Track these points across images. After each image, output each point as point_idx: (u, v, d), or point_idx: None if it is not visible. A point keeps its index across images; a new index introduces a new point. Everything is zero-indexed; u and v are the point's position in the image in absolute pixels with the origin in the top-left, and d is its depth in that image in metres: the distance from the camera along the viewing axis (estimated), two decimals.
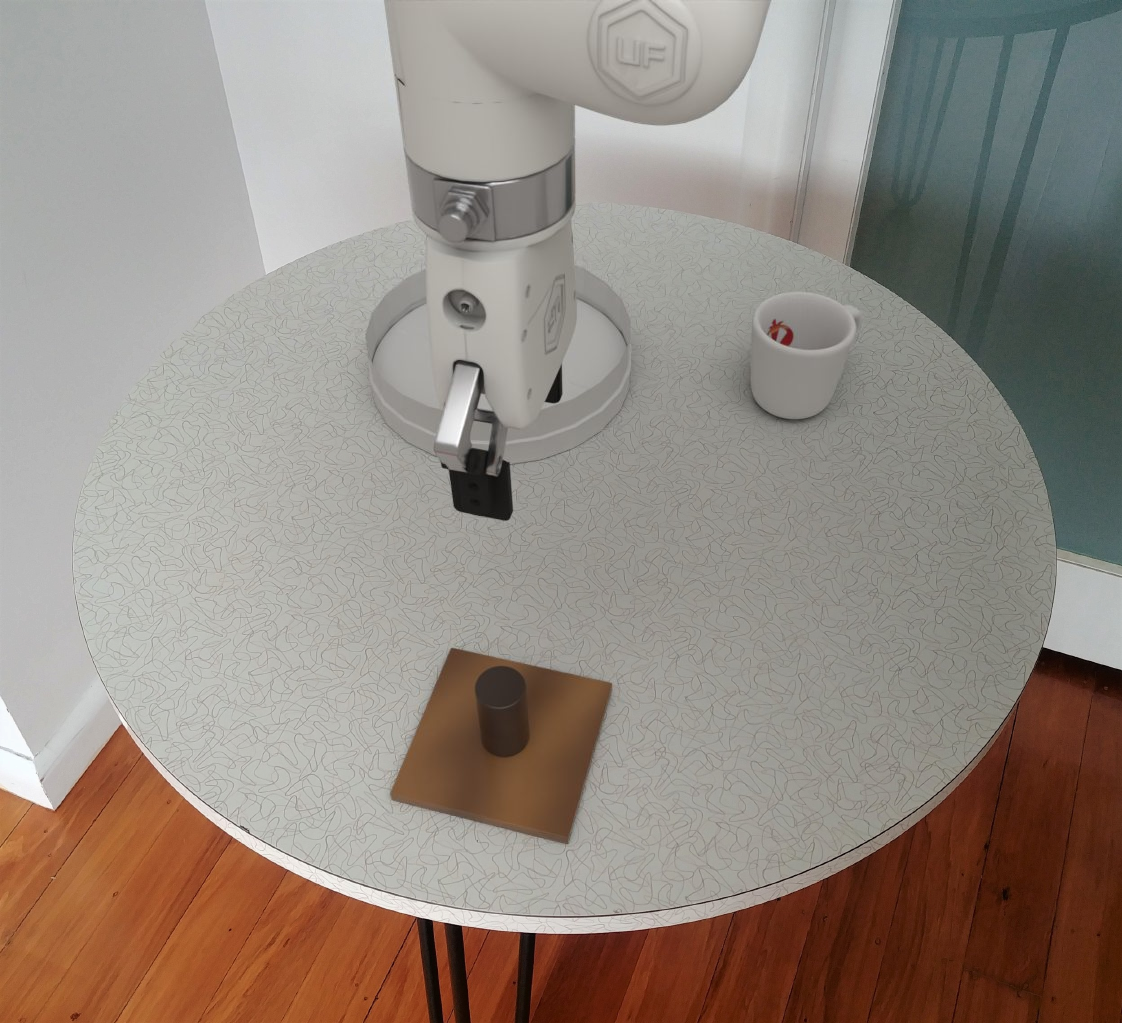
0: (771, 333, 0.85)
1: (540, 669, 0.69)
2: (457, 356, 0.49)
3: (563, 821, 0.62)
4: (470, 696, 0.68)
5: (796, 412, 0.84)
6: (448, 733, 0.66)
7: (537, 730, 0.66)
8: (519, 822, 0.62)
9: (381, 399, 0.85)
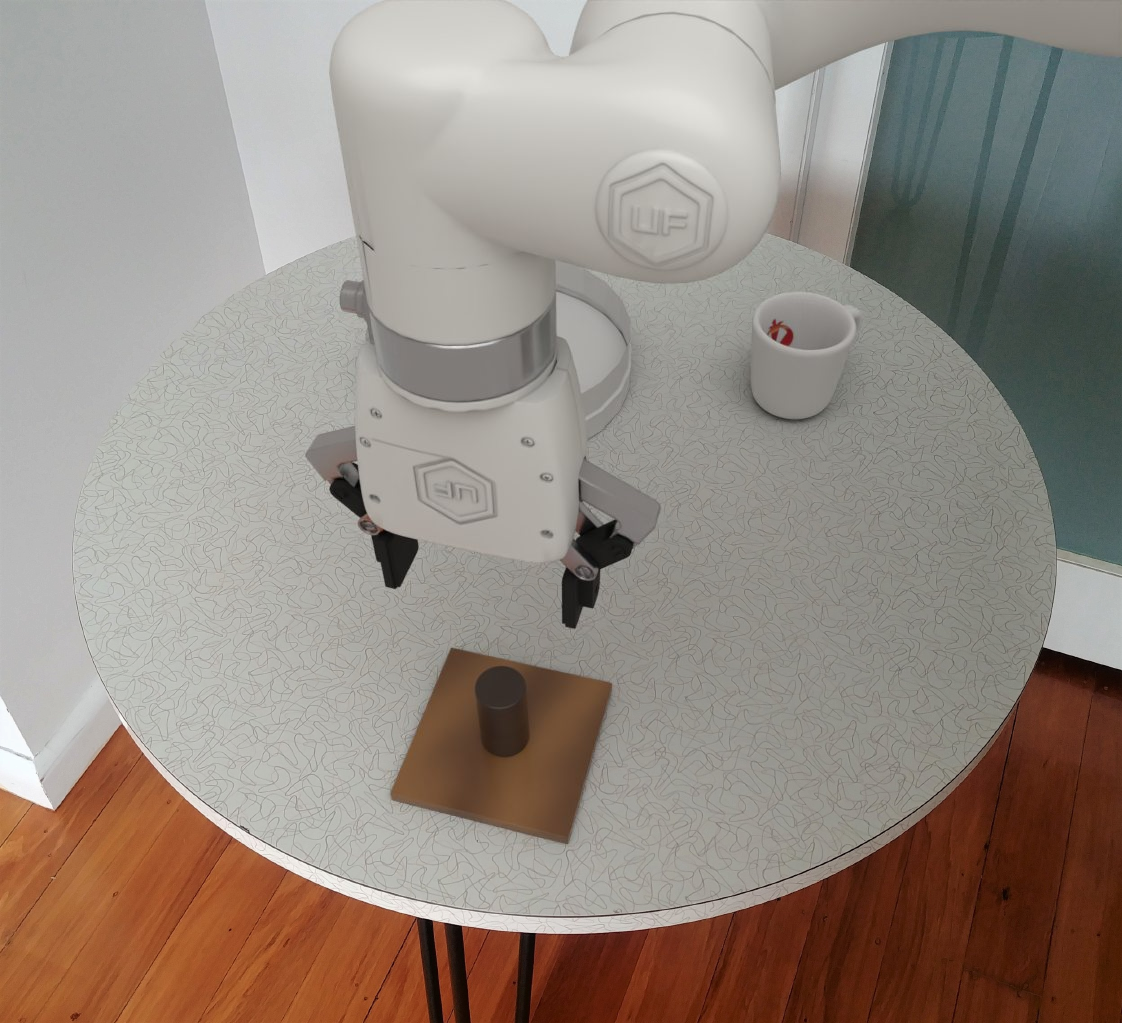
0: (771, 333, 0.85)
1: (540, 669, 0.69)
2: None
3: (563, 821, 0.62)
4: (470, 696, 0.68)
5: (796, 412, 0.84)
6: (448, 733, 0.66)
7: (537, 730, 0.66)
8: (519, 822, 0.62)
9: None
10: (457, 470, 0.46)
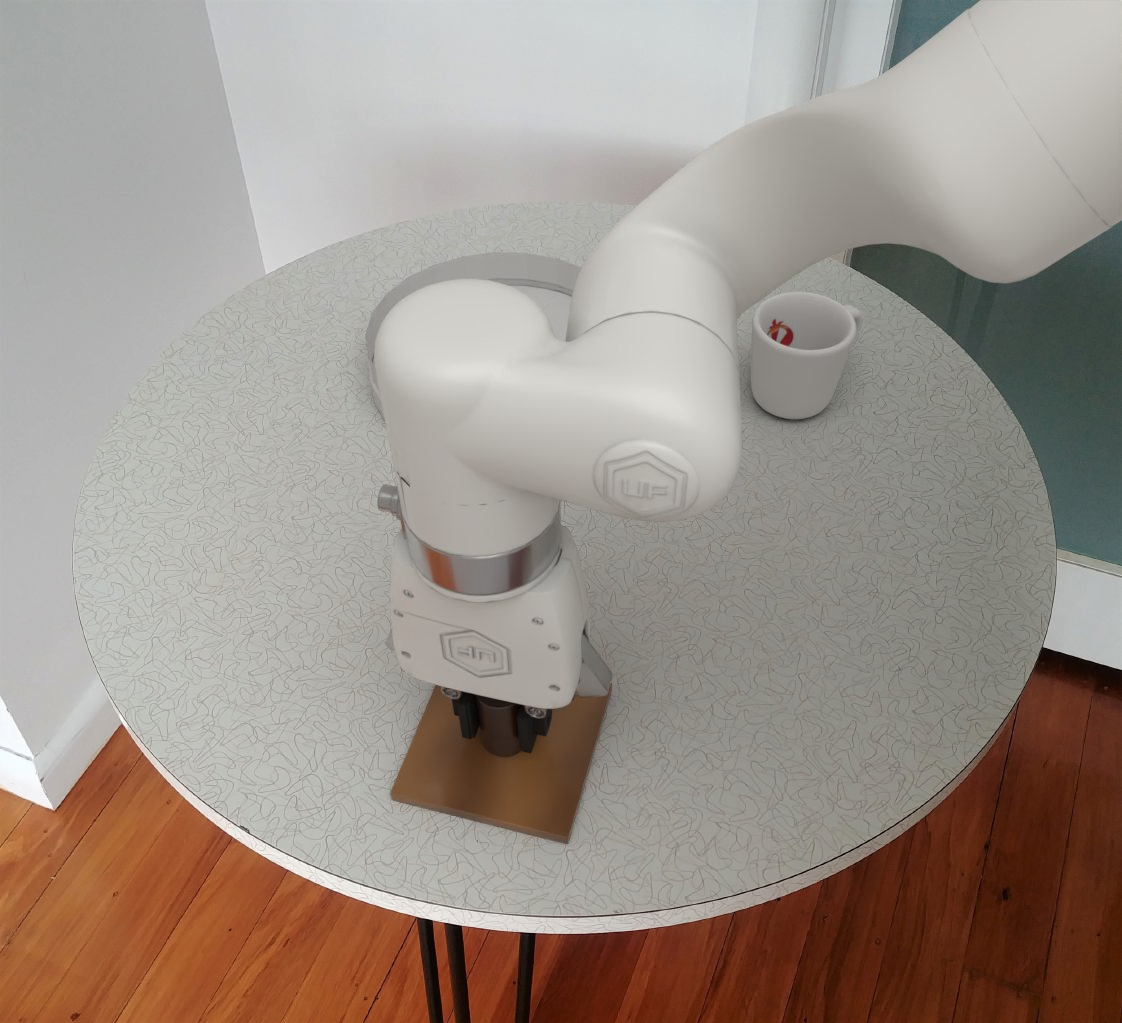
0: (771, 333, 0.85)
1: None
2: None
3: (563, 821, 0.62)
4: None
5: (796, 412, 0.84)
6: (448, 733, 0.66)
7: None
8: (519, 822, 0.62)
9: None
10: (477, 638, 0.54)
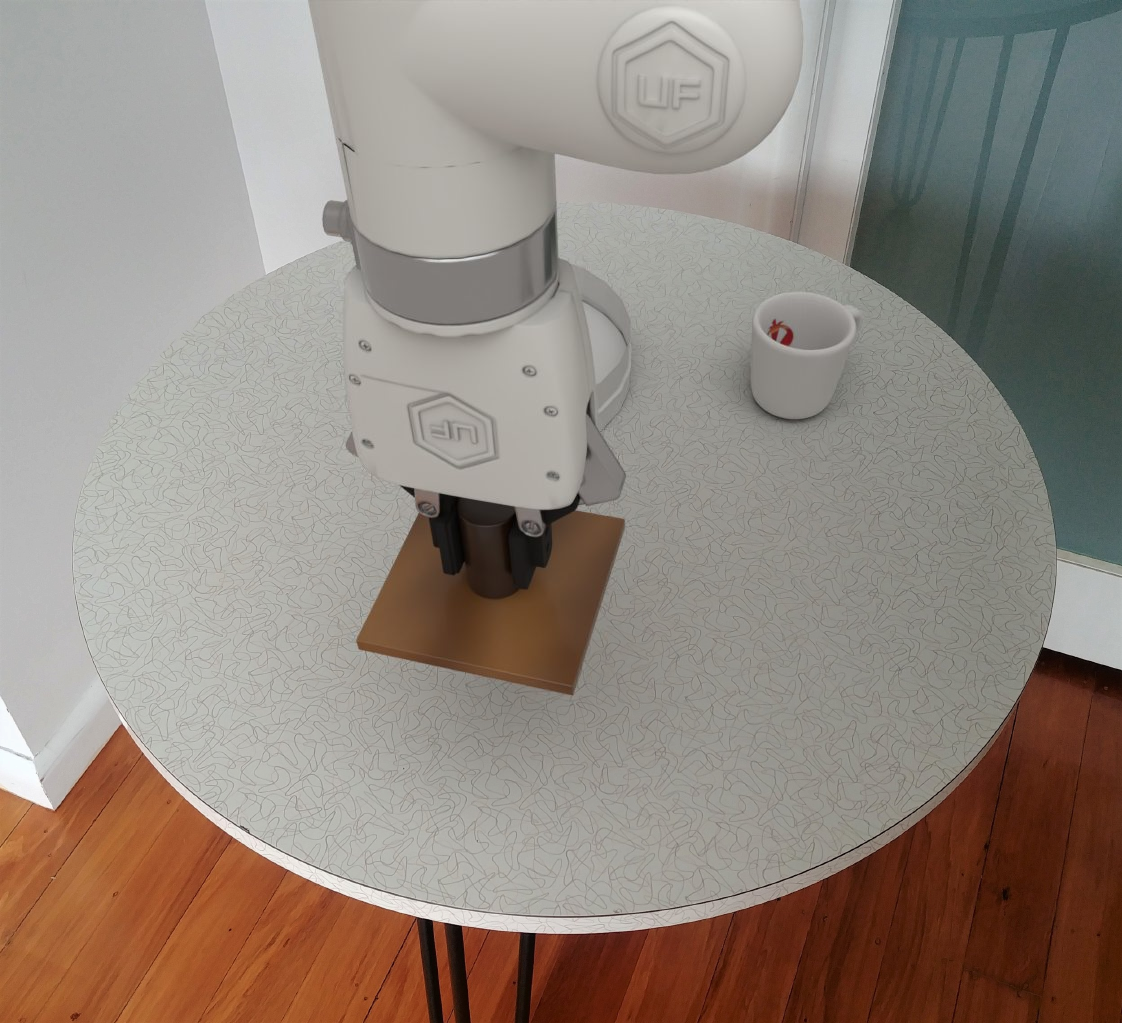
0: (771, 333, 0.85)
1: None
2: None
3: (567, 668, 0.50)
4: None
5: (796, 412, 0.84)
6: (427, 574, 0.55)
7: (535, 570, 0.55)
8: (513, 670, 0.50)
9: None
10: (454, 407, 0.42)
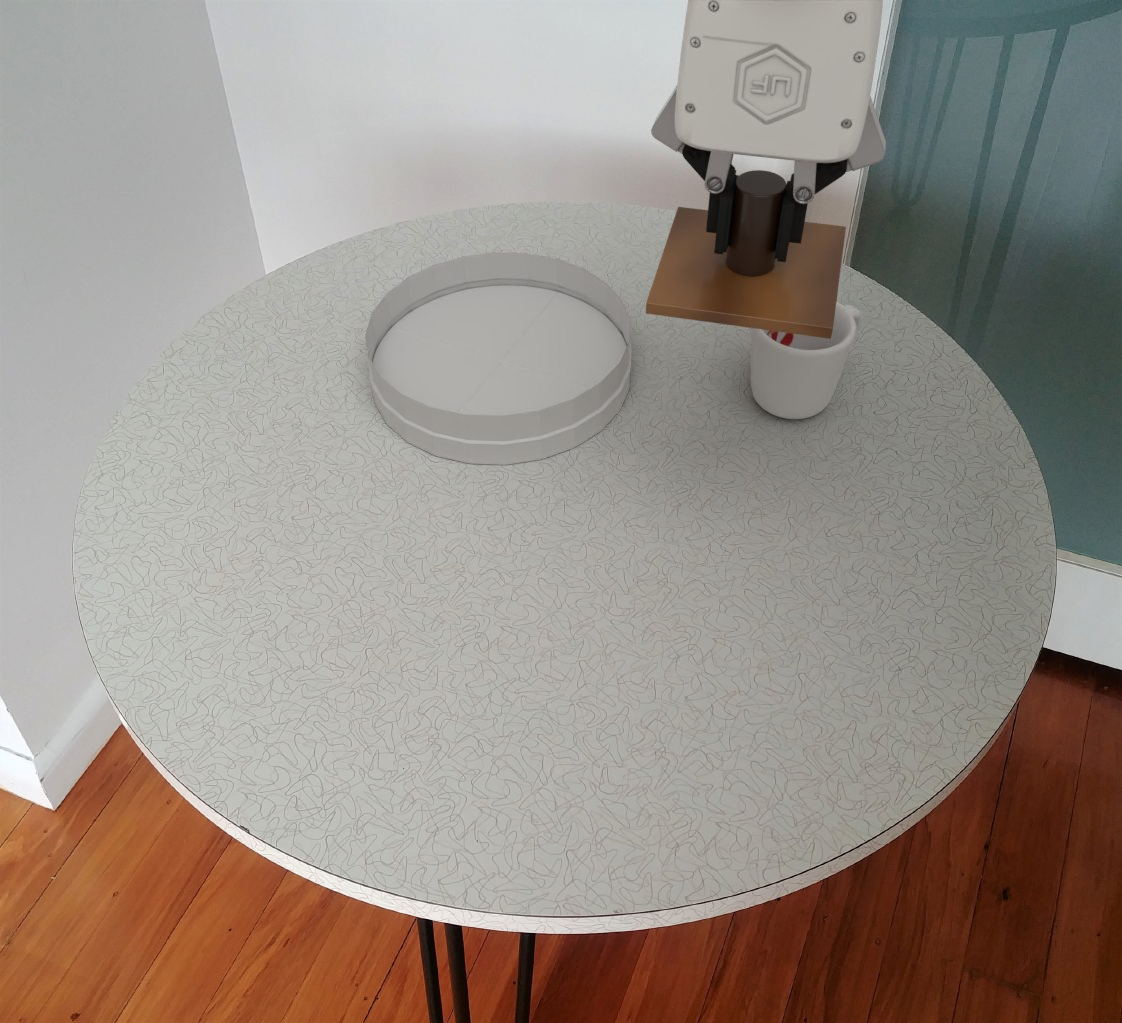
0: (771, 333, 0.85)
1: None
2: None
3: (825, 317, 0.62)
4: (707, 237, 0.68)
5: (796, 412, 0.84)
6: (692, 262, 0.66)
7: None
8: (781, 319, 0.62)
9: (381, 399, 0.85)
10: (778, 59, 0.54)
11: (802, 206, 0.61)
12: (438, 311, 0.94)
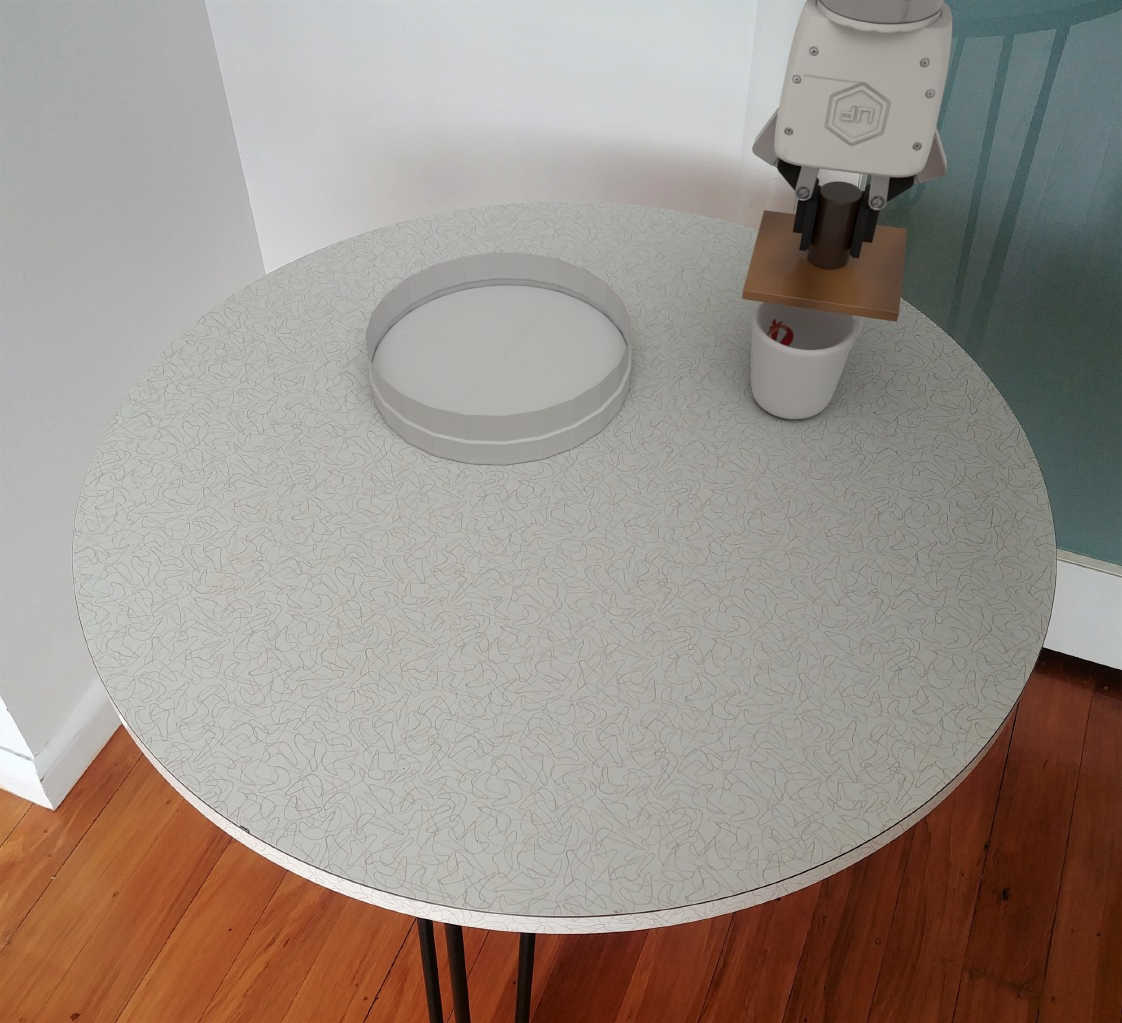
0: (771, 333, 0.85)
1: None
2: None
3: (892, 304, 0.75)
4: (790, 236, 0.81)
5: (796, 412, 0.84)
6: (779, 257, 0.79)
7: None
8: (856, 304, 0.75)
9: (381, 399, 0.85)
10: (864, 94, 0.67)
11: (875, 212, 0.74)
12: (438, 311, 0.94)
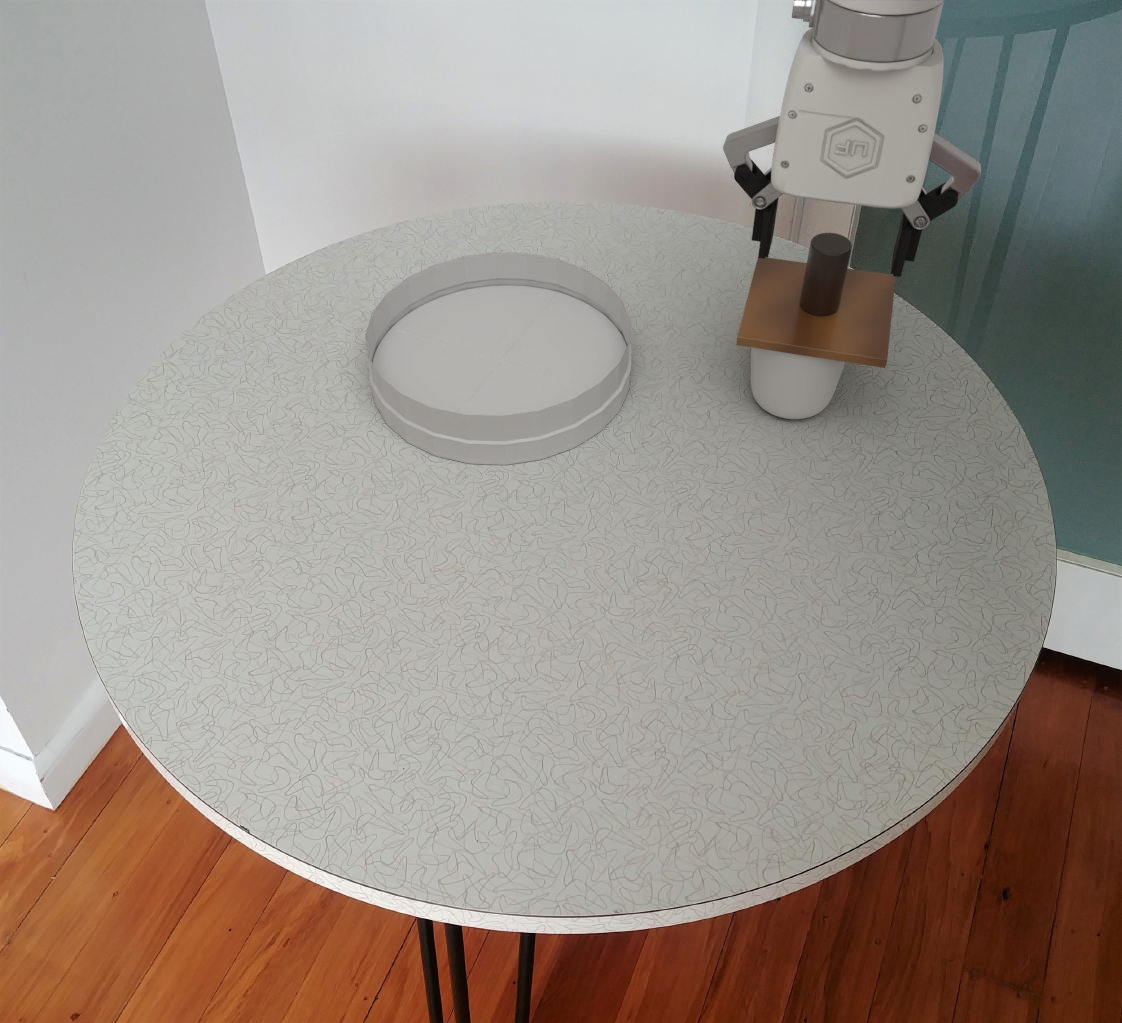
0: None
1: None
2: None
3: (880, 351, 0.78)
4: (783, 283, 0.84)
5: (796, 412, 0.84)
6: (772, 304, 0.82)
7: (843, 302, 0.82)
8: (846, 351, 0.78)
9: (381, 399, 0.85)
10: (858, 129, 0.68)
11: (917, 231, 0.74)
12: (438, 311, 0.94)
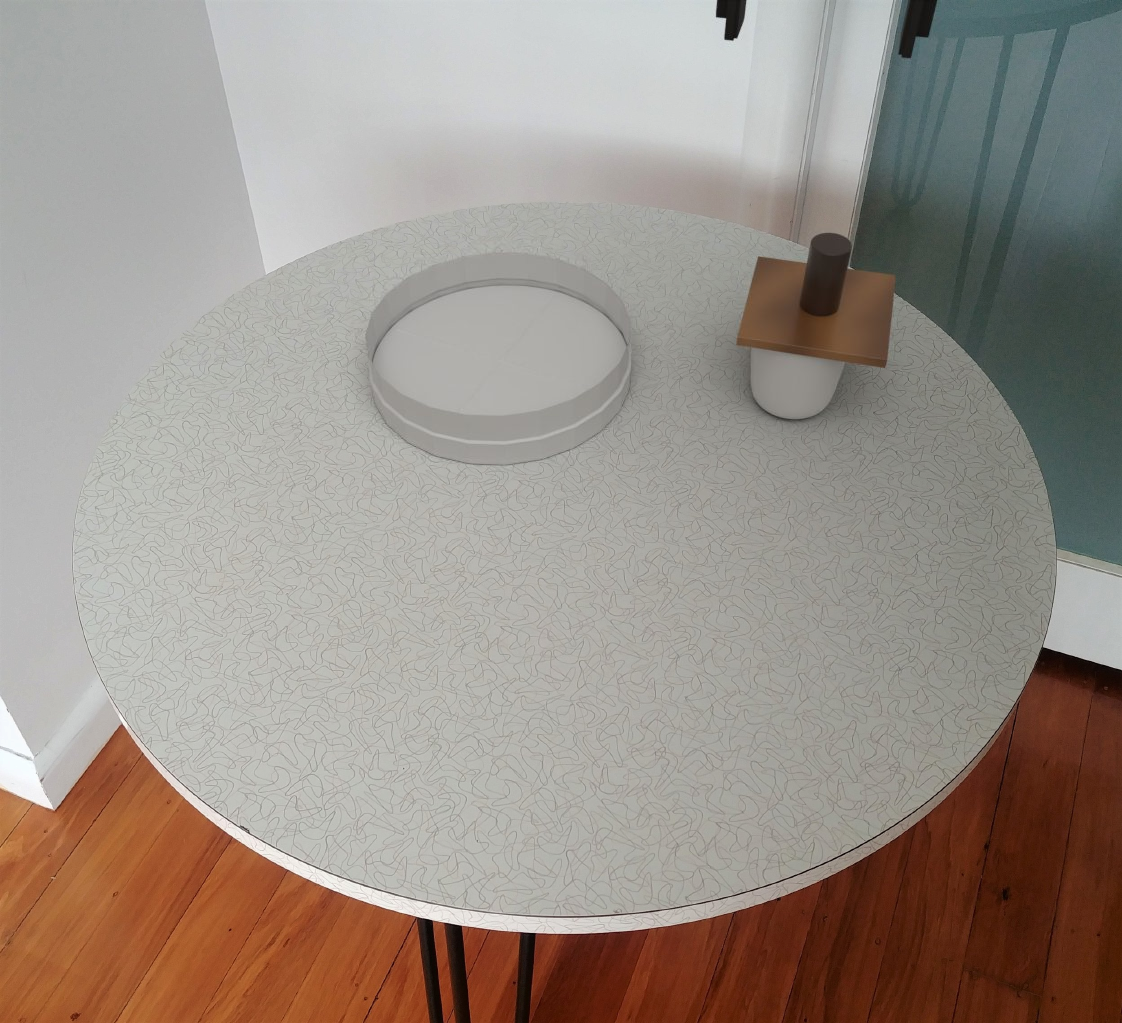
0: None
1: None
2: None
3: (880, 351, 0.78)
4: (783, 283, 0.84)
5: (796, 412, 0.84)
6: (772, 304, 0.82)
7: (843, 301, 0.82)
8: (846, 351, 0.78)
9: (381, 399, 0.85)
10: None
11: None
12: (438, 311, 0.94)
